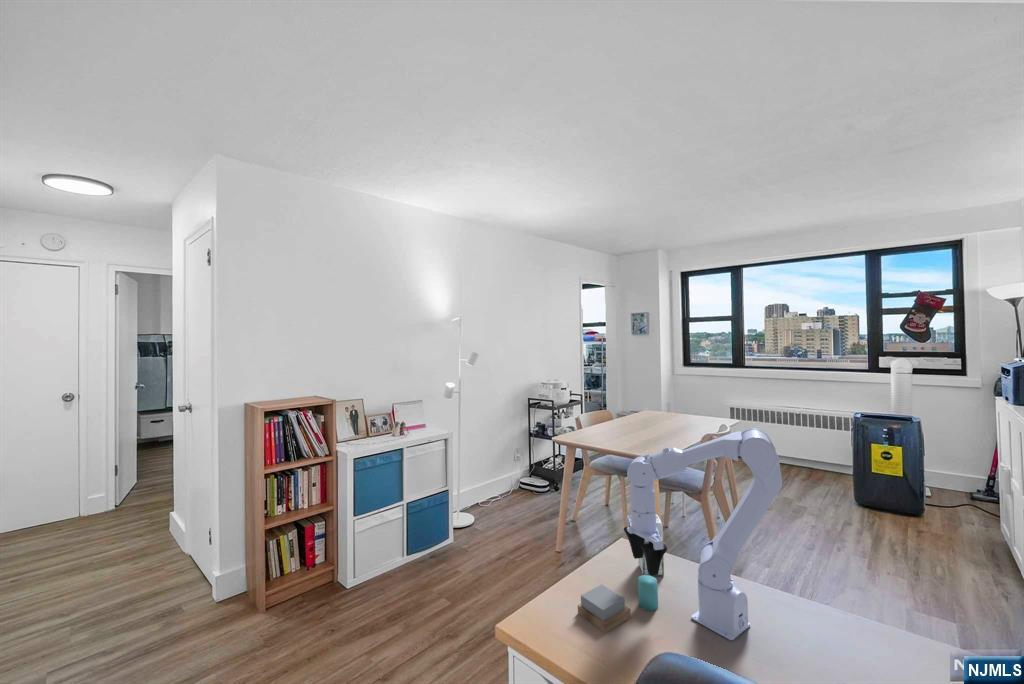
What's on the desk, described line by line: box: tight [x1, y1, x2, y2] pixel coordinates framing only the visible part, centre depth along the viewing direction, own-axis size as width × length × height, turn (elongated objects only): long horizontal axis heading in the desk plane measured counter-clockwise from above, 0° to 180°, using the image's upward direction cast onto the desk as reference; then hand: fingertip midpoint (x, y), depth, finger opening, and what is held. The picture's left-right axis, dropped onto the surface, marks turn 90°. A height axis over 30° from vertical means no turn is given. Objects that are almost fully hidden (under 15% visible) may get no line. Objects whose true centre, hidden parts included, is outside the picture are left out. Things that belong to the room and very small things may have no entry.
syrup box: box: [638, 514, 665, 576], centre depth 118 cm, size 6×6×14 cm
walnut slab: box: [577, 603, 632, 634], centre depth 100 cm, size 8×8×2 cm
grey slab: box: [580, 584, 626, 621], centre depth 100 cm, size 7×7×2 cm
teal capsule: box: [637, 574, 659, 612], centre depth 103 cm, size 4×4×6 cm
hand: (645, 565), depth 103 cm, fingers open, 7 cm apart
